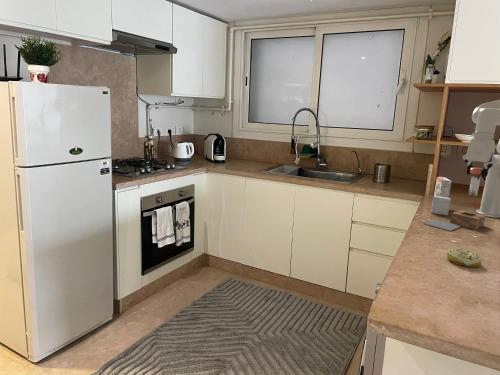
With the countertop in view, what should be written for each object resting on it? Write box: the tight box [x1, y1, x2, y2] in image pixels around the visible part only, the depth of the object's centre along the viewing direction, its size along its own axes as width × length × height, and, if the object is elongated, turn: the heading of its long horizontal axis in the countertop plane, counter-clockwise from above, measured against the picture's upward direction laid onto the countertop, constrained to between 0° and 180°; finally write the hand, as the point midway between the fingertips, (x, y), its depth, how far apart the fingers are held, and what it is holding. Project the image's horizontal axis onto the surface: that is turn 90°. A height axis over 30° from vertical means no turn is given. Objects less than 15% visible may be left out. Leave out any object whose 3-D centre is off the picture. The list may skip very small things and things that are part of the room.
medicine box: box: [430, 195, 452, 216], centre depth 195 cm, size 8×4×9 cm, turn 65°
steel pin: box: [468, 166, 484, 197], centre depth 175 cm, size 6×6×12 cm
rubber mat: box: [423, 218, 462, 232], centre depth 175 cm, size 12×12×1 cm
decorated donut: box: [446, 247, 483, 268], centre depth 132 cm, size 10×11×4 cm
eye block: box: [449, 209, 487, 230], centre depth 179 cm, size 11×11×5 cm
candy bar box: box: [433, 176, 453, 198], centre depth 206 cm, size 11×5×16 cm, turn 168°
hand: (476, 175), depth 174 cm, fingers closed on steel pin, 6 cm apart
